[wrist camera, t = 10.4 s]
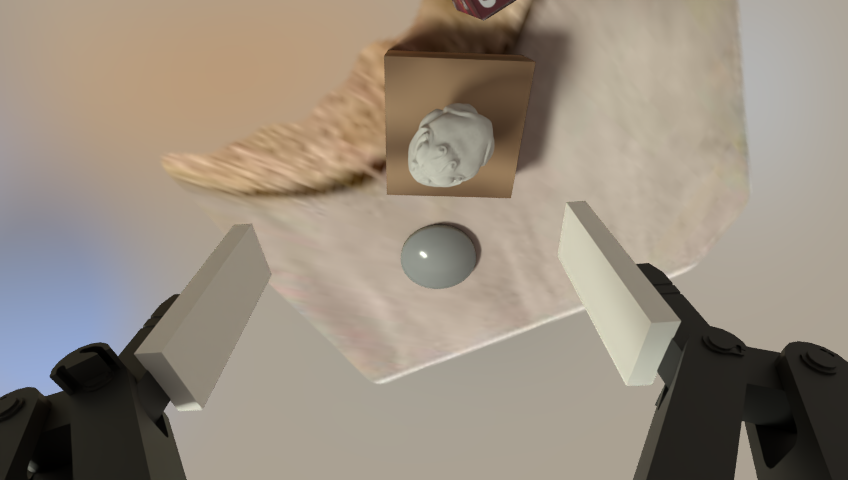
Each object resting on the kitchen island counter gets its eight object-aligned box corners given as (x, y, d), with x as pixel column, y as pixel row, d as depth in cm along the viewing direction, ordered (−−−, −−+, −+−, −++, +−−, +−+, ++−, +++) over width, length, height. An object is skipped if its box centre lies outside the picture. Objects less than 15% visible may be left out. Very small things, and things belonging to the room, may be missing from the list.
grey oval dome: (398, 226, 43) (398, 229, 42) (476, 223, 42) (477, 226, 42) (403, 286, 47) (403, 290, 47) (473, 283, 47) (474, 287, 47)
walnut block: (388, 49, 33) (384, 56, 29) (521, 54, 33) (535, 61, 29) (390, 174, 40) (386, 194, 35) (501, 177, 40) (510, 198, 36)
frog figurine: (406, 126, 33) (383, 150, 27) (473, 76, 29) (463, 91, 24) (445, 181, 34) (432, 215, 29) (512, 140, 31) (512, 168, 25)
